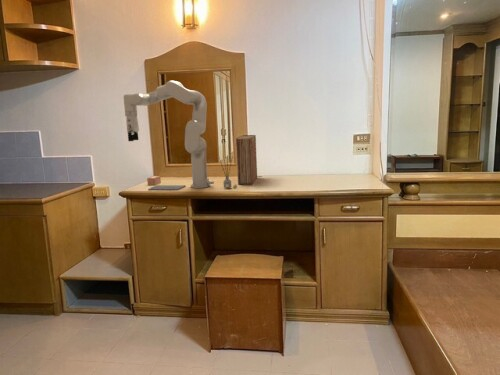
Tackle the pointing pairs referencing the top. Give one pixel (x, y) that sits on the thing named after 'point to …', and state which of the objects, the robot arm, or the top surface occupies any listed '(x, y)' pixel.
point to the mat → (167, 187)
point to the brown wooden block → (246, 159)
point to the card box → (154, 180)
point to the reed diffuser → (227, 177)
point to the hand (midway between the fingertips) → (133, 140)
